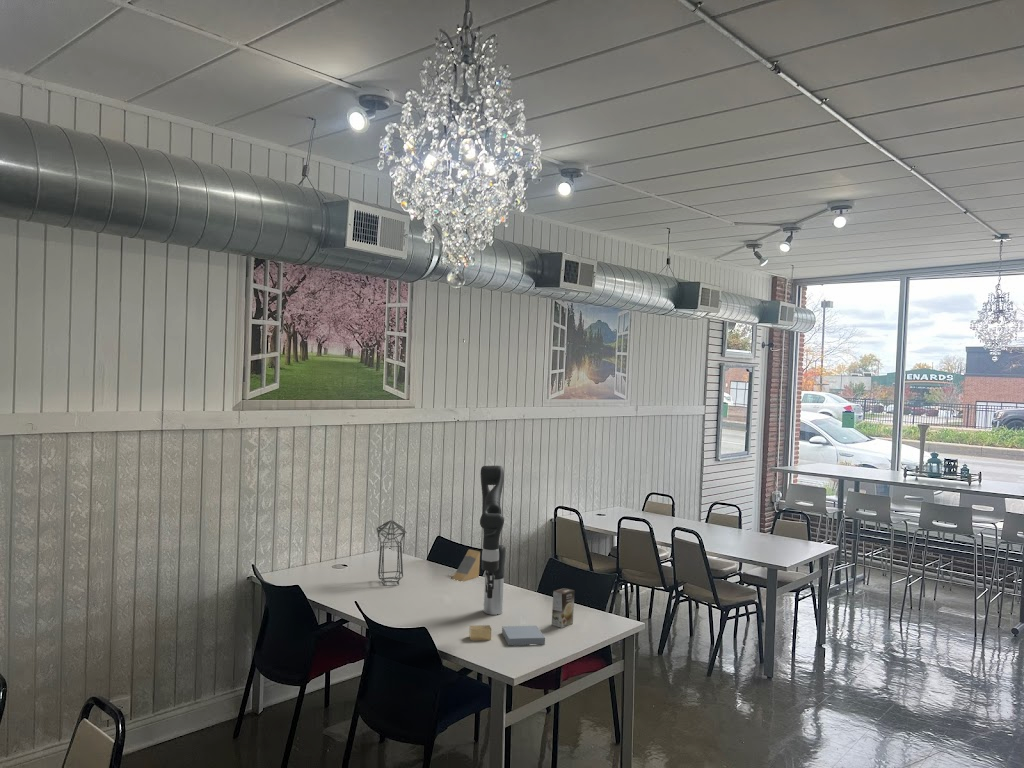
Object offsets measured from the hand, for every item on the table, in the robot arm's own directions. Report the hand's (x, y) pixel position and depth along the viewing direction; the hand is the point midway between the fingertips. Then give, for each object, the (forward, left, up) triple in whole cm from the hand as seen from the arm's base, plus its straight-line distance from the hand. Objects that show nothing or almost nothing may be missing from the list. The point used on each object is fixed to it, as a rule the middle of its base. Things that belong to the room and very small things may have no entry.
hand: (488, 595), depth 326 cm
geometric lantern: (-90, -40, -20) cm, 101 cm away
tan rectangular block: (-1, -3, -20) cm, 20 cm away
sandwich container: (-101, +4, -20) cm, 103 cm away
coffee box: (-17, +39, -20) cm, 47 cm away
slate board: (+1, +16, -19) cm, 25 cm away
